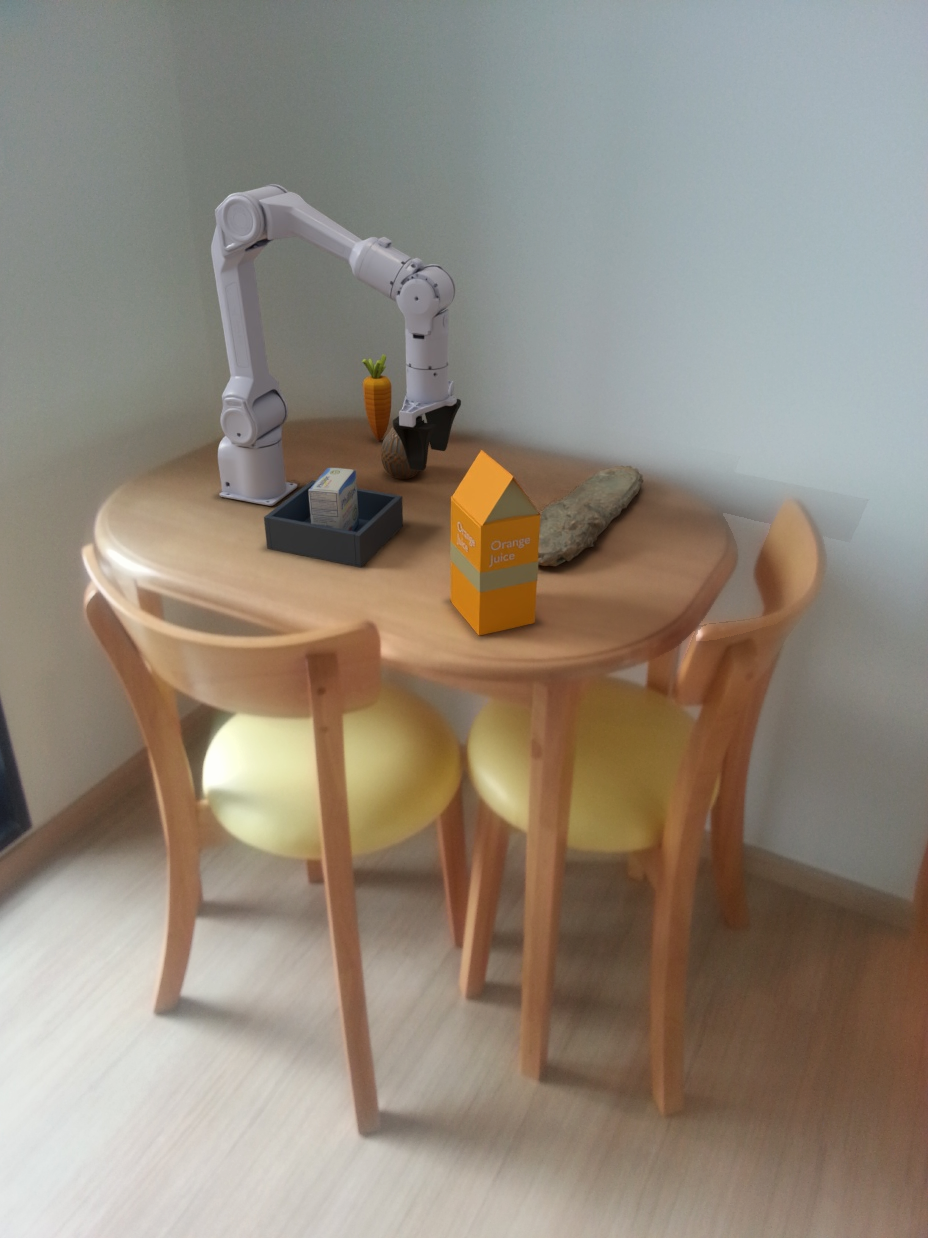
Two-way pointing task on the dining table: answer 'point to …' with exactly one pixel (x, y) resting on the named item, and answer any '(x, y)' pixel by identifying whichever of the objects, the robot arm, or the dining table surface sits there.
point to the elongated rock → (585, 513)
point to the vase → (395, 457)
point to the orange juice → (493, 549)
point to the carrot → (377, 397)
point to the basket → (299, 536)
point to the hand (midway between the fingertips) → (428, 458)
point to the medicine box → (335, 499)
